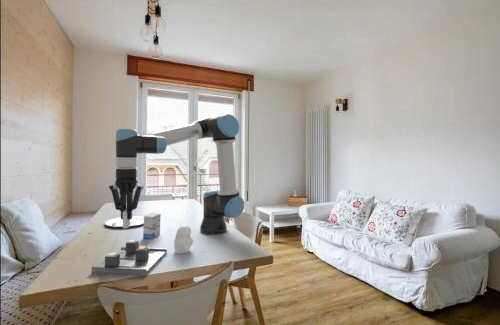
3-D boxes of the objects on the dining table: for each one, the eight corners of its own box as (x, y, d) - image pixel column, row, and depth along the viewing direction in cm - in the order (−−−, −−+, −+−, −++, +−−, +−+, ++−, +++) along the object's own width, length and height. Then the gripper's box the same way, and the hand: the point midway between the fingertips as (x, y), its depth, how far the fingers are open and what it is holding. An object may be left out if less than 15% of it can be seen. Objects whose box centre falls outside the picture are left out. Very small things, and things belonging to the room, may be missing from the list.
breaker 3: (148, 257, 107) (148, 246, 107) (145, 260, 104) (145, 249, 104) (139, 257, 107) (139, 246, 107) (135, 260, 104) (135, 248, 104)
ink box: (151, 239, 134) (151, 216, 134) (142, 238, 135) (142, 215, 135) (160, 234, 143) (160, 213, 142) (152, 234, 144) (152, 212, 143)
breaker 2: (138, 250, 115) (138, 239, 115) (135, 252, 112) (135, 242, 112) (129, 249, 115) (129, 239, 115) (125, 252, 112) (125, 241, 112)
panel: (166, 253, 116) (166, 248, 116) (145, 275, 95) (145, 269, 95) (122, 252, 117) (122, 247, 117) (91, 273, 96) (91, 267, 96)
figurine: (182, 255, 114) (183, 228, 114) (170, 252, 118) (170, 225, 118) (194, 250, 120) (194, 224, 120) (182, 247, 124) (182, 222, 124)
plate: (154, 225, 161) (154, 222, 161) (108, 232, 146) (108, 228, 146) (144, 217, 181) (144, 214, 181) (102, 222, 167) (102, 219, 167)
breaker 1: (119, 264, 100) (119, 252, 100) (115, 268, 97) (115, 255, 97) (109, 264, 100) (109, 252, 100) (104, 267, 97) (104, 255, 97)
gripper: (146, 168, 108) (146, 225, 109) (115, 167, 109) (115, 224, 109) (138, 169, 101) (137, 230, 101) (104, 168, 101) (104, 229, 102)
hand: (126, 227), depth 105 cm, fingers closed
